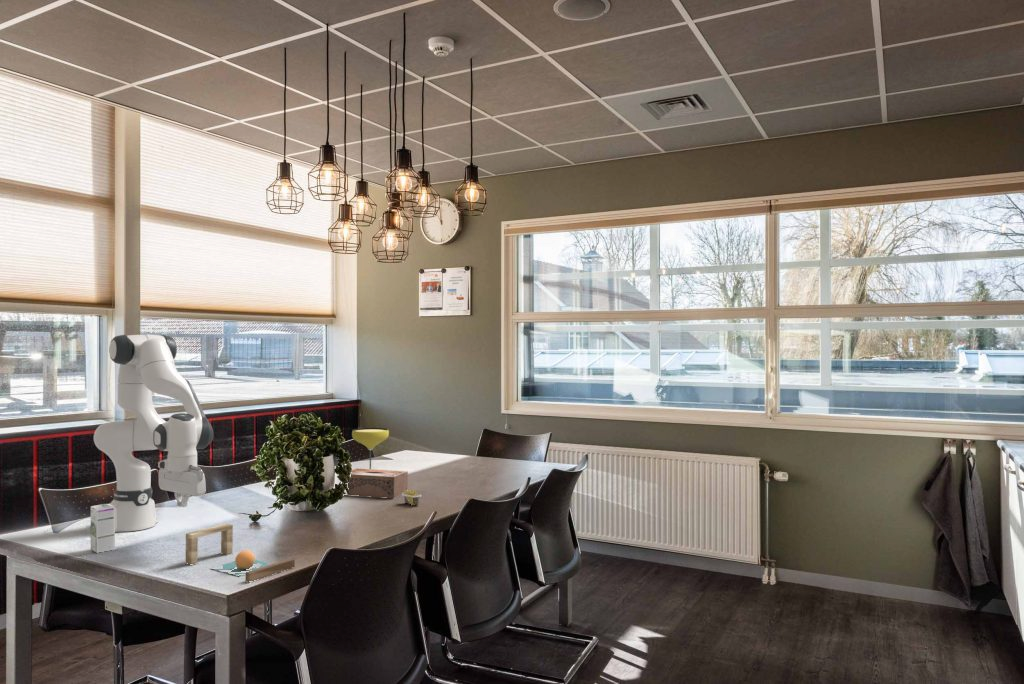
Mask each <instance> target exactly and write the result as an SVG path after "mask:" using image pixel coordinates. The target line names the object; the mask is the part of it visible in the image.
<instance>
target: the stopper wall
mask: <svg viewBox="0 0 1024 684" xmlns="http://www.w3.org/2000/svg"><path fill="white" fill-rule="evenodd" d="M292 567H295V559H294V558H290V557H289V558H287V559H284V560H281V561H278V562H277V561H276V562H274V563H271V565H268V566H264V567H261V568H258V569H255V570H252V571H249V572H246V575H245V582H246V581H253V582H255V581H254V580H256V581H258V580H257V579H259V580H262V579H265V578H268V577H271V576H273V575H272V574H274V575H276V574H275V573H277V574H279V573H278V572H280V573H282V572H281V571H283V572H285V571H284V570H286V571H288V570H287V569H289V570H291V569H290V568H292ZM292 569H293V568H292ZM270 575H271V576H270ZM267 576H268V577H267ZM264 577H265V578H264ZM261 578H262V579H261Z"/></svg>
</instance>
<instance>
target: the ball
mask: <svg viewBox="0 0 1024 684" xmlns="http://www.w3.org/2000/svg"><path fill="white" fill-rule="evenodd" d="M255 560H256V558H255V554H254V553H253V552H252V551H250V550H241V551H240V552H239V553H238V554H236V557H235V559H234V561H235V563H236V566H237V567H238V568H239V569H242V570H246V569H249V568H250V567H252V566H253V564H254V562H255Z"/></svg>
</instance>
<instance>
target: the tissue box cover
mask: <svg viewBox="0 0 1024 684" xmlns="http://www.w3.org/2000/svg"><path fill="white" fill-rule="evenodd" d="M408 474H409V471H408V470H406V471H403V470H388V469H375V468H374V469H372V468H371V469H370V468H355V469H352V473H351V478H350V481H349V483H348V488H349V495H359V496H371V497H370V498H372V497H387V498H395V497H397V496H399V495H401V494H402V493H403V492H404V490H406V491H407V490H409V489H408V487H409V485H408V484H409V483H408V482H409V481H408V480H409V479H408V478H409V475H408ZM399 497H400V496H399ZM397 498H398V497H397ZM395 499H396V498H395Z"/></svg>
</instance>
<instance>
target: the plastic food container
mask: <svg viewBox="0 0 1024 684" xmlns="http://www.w3.org/2000/svg"><path fill="white" fill-rule="evenodd" d="M402 496H404V504H405V503H410V504H411V506H412V505H418V506H419V498H420V497H422V494H418V491H417V490H411V489H408V490H407V491H406V490H404V492H403V493H402ZM402 496H401V497H402ZM410 504H409V505H410Z"/></svg>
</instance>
